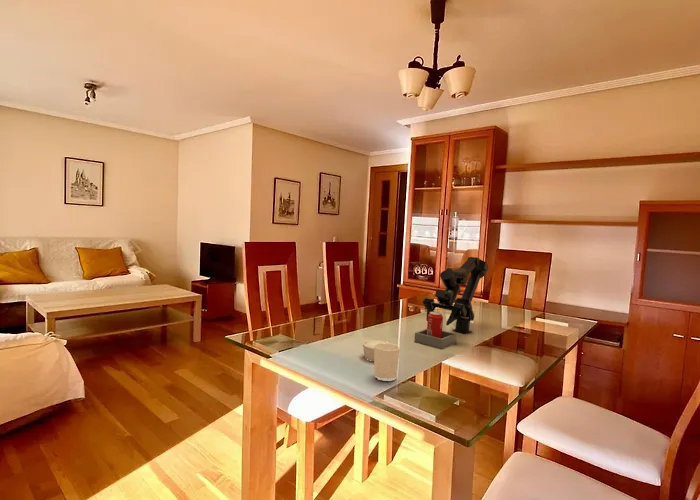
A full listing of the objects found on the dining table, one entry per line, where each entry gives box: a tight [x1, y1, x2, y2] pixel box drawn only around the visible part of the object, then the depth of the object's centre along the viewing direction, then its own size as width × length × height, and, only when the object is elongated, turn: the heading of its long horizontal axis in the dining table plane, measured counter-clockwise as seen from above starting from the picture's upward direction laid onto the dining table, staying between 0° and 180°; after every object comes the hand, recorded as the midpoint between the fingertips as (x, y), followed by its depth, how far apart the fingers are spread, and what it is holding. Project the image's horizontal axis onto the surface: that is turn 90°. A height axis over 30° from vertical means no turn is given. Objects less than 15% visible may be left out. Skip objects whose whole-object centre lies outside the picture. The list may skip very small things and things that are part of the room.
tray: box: [414, 328, 457, 350], centre depth 159 cm, size 13×13×4 cm
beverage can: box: [426, 311, 444, 339], centre depth 159 cm, size 6×6×12 cm
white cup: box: [373, 342, 401, 379], centre depth 117 cm, size 8×8×10 cm
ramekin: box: [362, 339, 393, 362], centre depth 136 cm, size 11×11×5 cm
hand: (436, 322), depth 159 cm, fingers open, 9 cm apart
